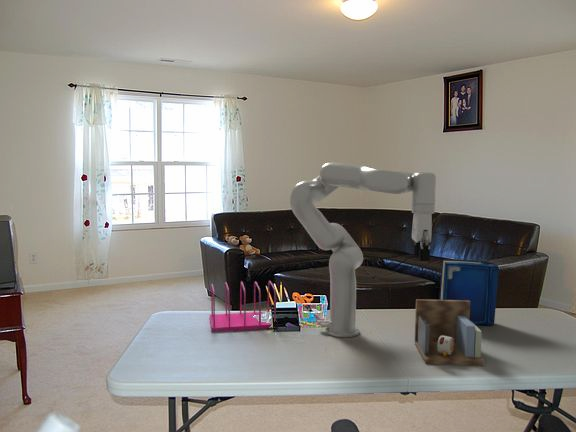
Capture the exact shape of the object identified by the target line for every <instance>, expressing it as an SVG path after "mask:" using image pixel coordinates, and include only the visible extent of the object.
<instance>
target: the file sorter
mask: <svg viewBox="0 0 576 432" xmlns="http://www.w3.org/2000/svg"><path fill="white" fill-rule="evenodd" d="M239 286H240V288H239V290H240V291H239V292H240V294H239V296H240V297H239V312H236V313H231V309H230V307H231V305H230V303H231V301H230V298H231V297H230V288H229V286H228V283H227V282H226V281H225V282H224V296H225V297H224V299H225V300H224V301H225V313H218V314H216V309H215V308H216V307H215V306H216V304H215V303H216V300H215V289H214V288H215V287H214V284H213V283H211V285H210V292H211V294H210V299H211V300H210V301H211V303H210V304H211V307H210V309H211V311H210V312H211V314H209V324H210V331H211V332H212V333H218V332H230V331H231V332H232V331H233V332H235V331H248V330H249V331H250V330H265V329H267V328H269V327H270V326H271V325H272V324H270V323H266V322H261V314H262V313H263V312H264V311H261V310H262V301H261V299H262V298H261V297H262V293H261V288H260V286H259V285H258V282H257V281H254V282H253V312H246V311H247V309H246V308H247V307H246V303H247V302H246V301H247V300H246V299H247V298H246V295H247V294H246V288H245V285H244V282H243V281H240V285H239ZM270 286H271V287H272V289H273V293H274V300H273V302H274V303H273V305H274V306H273V317H274V322H275V321H276V322H277V319H276V317H277V316H276V315H277V313H276V312H277V291H276V288H275V286H274V284H273V282H272V281H271V280H268V283H267V312H270ZM256 287H257V289H258V294H259V295H258V304H259V305H258V311H257V312H256ZM242 293H243V294H242ZM242 295H243V298H242ZM242 299H243V312H242ZM254 315H259V321H258V320H257V319H256V318H253V316H254ZM267 330H268V329H267Z"/></svg>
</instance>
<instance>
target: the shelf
mask: <svg viewBox="0 0 576 432" xmlns="http://www.w3.org/2000/svg"><path fill="white" fill-rule="evenodd" d="M419 315H423V317H424V318H425V320H426V321H427V322H428V324H429V325H430V328H429V355H428V356H425V355H424V354H423V352H422V350H421V348H420V347H419V345H418V322H419ZM457 316H465V317H466V318H467V319H468V320H470V301H469V300H439V299H428V298H427V299H424V298H423V299H419V298H416V299H415V315H414V319H415V321H414V343H415V344H414V346H415V345H416V346H415V347H417V348H416V349H418V350H417V352H418V353H419V355H420V357H421V359H422V361H423V360H424V361H423V362H424V364H425V365H451V366H452V365H454V366H456V365H457V366H483V367H484V365H485V361H484V359H483V358H482V357H465V356H464V354H463V353H462V352H461V350H460V349H459V348H458V347H457V345H456V330H457ZM442 335H443V336H448V337H452V338H453V339H454V349H453V352H452V354H451V355H447V356H446V357H445V356H443V354H440V353H438V351H437V343H438V339H439V337H440V336H442Z"/></svg>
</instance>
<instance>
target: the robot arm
mask: <svg viewBox="0 0 576 432" xmlns="http://www.w3.org/2000/svg"><path fill="white" fill-rule="evenodd" d="M436 177H437V176H436V174H435V173H433V172H424V171H423V172H420V171H419V172H411V171H410V172H409V171H403V170H402V171H395V170H393V171H392V170H385V169H377V168H376V169H375V168H372V167H371V168H370V167H369V166H366V165H360V164H351V163H342V162H332V161H331V162H327V163H324V164H323V165H322V167H321V168H320V169H319V175H318V176H317V177H315V178H314V179H312V180H303V181H300V182H299V183H296V184H295V186H293V188H292V190H291V193H290V196H289V204H290V209H291V211H292V212H293V214H294V216H295V217H296V219H297V220H298V221H299V223H300V224H301V225H302V226H303V228H304V229H305V231H306V232H307V234H308V235H309V236H310V238H311V239H312V240H313V242H314V243H315V244H316V246H317V247H318V248H319V249H321V250H323V251H330V250H331V251H332V254H331V255H330V257H329V262H328V268H329V269H328V271H329V277H330V278H329V281H330V285H329V287H330V288H329V289H330V293H329V295H330V296H329V299H330V300H329V301H330V303H329V318H328V319H326V320H322V319H320V320H319V319H318V320H317V326H320V327H321V328H325V333H327V334H328V335H329V336H332V337H337V338H351V337H352V338H353V337H356V336H358V335H359V334H360V328H359V327H357V326H356V321H357V320H356V319H357V318H356V316H357V315H356V314H357V310H356V309H357V279H356V278H357V277H356V269H358V268H359V267H360V266H361V265H362V264H363V262H364V254H363V252H362V250H361V248H360V246H359V245H358V244H357V242H355V240H354V238H353V237H352V236H351V234H350V233H349V232H348V231H347V229H345V227H343V226H342V225H341V224H339V223H337V222H330V221H328V220H327V218H326V216H324V215H323V213H322V212H321V211H320V210H319V209H318V208H317V207H316V205H315V204H314V203H317V202H321V201H323V200H324V199H326V198H327V197H328V196H330V195H331V194H332V193H334V192H335V191H336V190H337V189H339V188H340V187H341V188H348V189H355V190H360V191H361V190H362V191H370V192H371V191H373V192H378V193H386V194H393V195H400V194H401V195H402V194H406V193H412V195H411V213H412V214H413V218H412V229H411V239H412V241H413V243H414V245H413V256H415V257H419V261H420V262H430V261H431V260H430V259H431V258H430V257H431V247H430V245H431V242H432V233H433V232H432V231H433V230H432V229H433V227H432V226H433V223H432V221H433V219H432V214H435V208H436V180H437V179H436Z"/></svg>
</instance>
